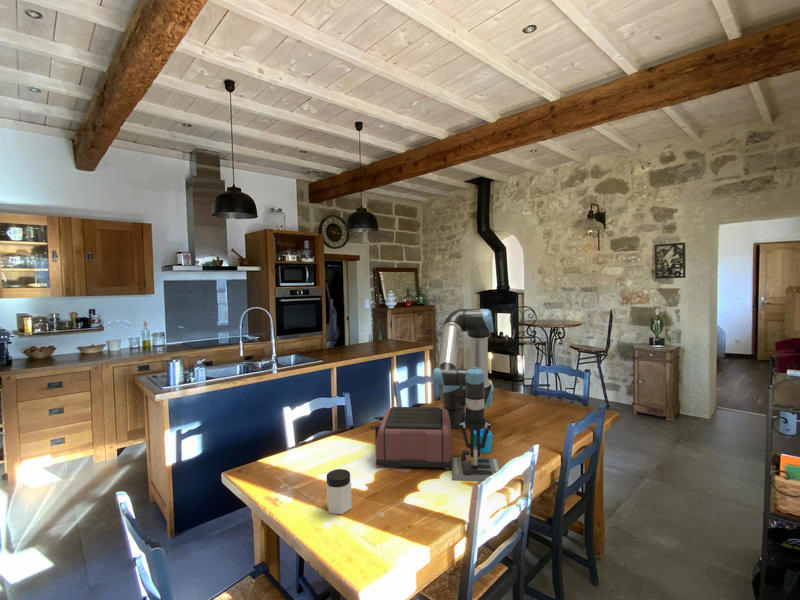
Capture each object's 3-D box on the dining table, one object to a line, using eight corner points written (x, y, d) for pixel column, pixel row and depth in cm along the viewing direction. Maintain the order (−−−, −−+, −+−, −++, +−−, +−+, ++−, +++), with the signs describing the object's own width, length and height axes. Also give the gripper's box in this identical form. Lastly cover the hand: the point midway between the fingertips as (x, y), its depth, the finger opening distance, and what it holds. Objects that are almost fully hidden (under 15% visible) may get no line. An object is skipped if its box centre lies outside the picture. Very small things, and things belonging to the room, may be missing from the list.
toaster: (377, 439, 202) (377, 404, 201) (450, 441, 198) (450, 405, 197) (366, 468, 171) (366, 427, 170) (452, 471, 168) (452, 429, 167)
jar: (341, 498, 148) (340, 466, 147) (356, 506, 143) (355, 472, 142) (321, 509, 141) (320, 475, 140) (337, 517, 136) (336, 483, 135)
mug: (484, 454, 182) (484, 437, 182) (469, 449, 188) (469, 432, 188) (499, 447, 190) (499, 430, 190) (485, 442, 196) (485, 425, 196)
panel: (451, 461, 176) (451, 456, 176) (498, 463, 174) (498, 458, 174) (452, 480, 160) (452, 474, 160) (504, 481, 158) (504, 476, 158)
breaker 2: (465, 464, 168) (465, 454, 168) (473, 464, 168) (473, 454, 168) (466, 467, 166) (466, 457, 165) (473, 467, 165) (473, 457, 165)
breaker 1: (461, 458, 174) (461, 449, 173) (468, 458, 173) (468, 449, 173) (462, 461, 171) (462, 452, 171) (469, 461, 170) (469, 452, 170)
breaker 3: (463, 469, 164) (463, 460, 163) (470, 469, 163) (470, 460, 163) (463, 473, 161) (463, 463, 161) (471, 473, 161) (471, 463, 160)
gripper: (459, 410, 162) (459, 467, 164) (492, 410, 161) (492, 468, 162) (458, 404, 170) (458, 459, 171) (489, 404, 168) (490, 460, 170)
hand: (475, 463), depth 167 cm, fingers closed
